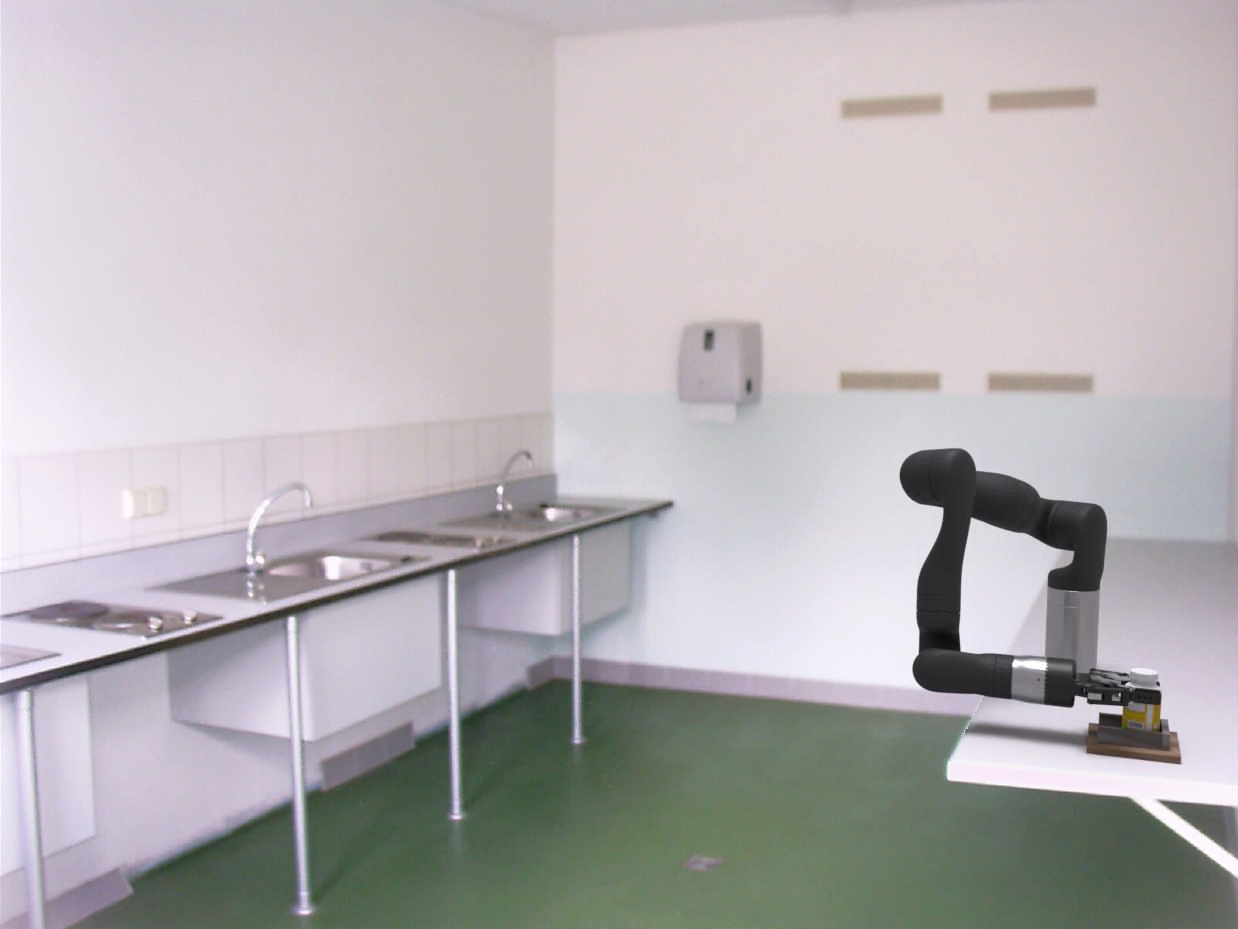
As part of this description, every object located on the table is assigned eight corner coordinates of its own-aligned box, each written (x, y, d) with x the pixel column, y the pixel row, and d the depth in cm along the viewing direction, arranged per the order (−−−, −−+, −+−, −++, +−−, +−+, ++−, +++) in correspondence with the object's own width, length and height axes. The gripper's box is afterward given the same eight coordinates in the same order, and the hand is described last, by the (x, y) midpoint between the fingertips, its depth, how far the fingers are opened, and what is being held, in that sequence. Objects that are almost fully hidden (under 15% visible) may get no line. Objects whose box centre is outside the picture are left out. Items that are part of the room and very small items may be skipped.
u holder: (1088, 728, 203) (1089, 707, 203) (1176, 738, 198) (1177, 716, 198) (1086, 753, 190) (1087, 730, 190) (1180, 764, 186) (1181, 740, 185)
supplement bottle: (1149, 727, 197) (1153, 666, 196) (1165, 738, 191) (1169, 676, 190) (1115, 727, 197) (1119, 666, 196) (1130, 738, 191) (1134, 675, 190)
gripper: (1042, 667, 192) (1163, 679, 185) (1047, 647, 205) (1160, 658, 199) (1039, 715, 192) (1160, 729, 186) (1044, 693, 206) (1157, 705, 199)
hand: (1159, 693), depth 192 cm, fingers closed on supplement bottle, 5 cm apart
